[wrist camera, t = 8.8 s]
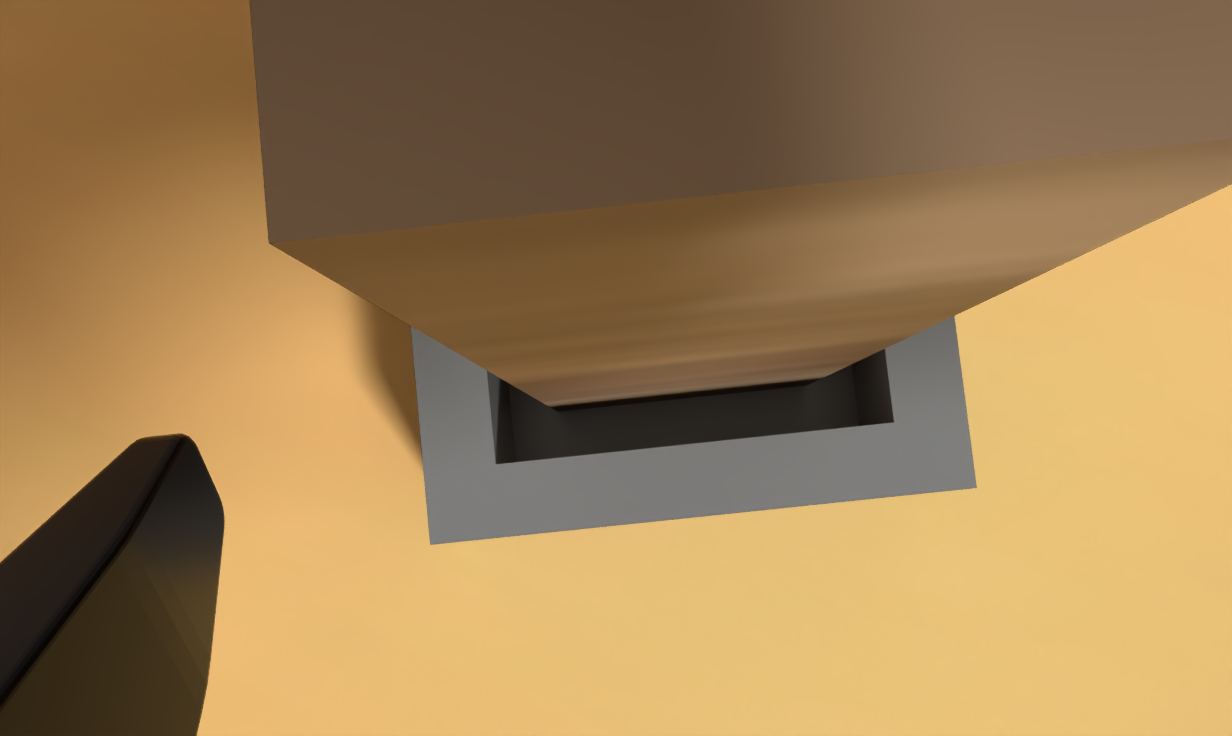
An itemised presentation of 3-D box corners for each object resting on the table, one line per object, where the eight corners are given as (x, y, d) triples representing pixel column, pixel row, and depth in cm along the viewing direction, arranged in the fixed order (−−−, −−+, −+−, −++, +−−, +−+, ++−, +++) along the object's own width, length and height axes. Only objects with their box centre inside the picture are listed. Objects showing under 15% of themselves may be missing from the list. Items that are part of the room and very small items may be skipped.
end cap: (922, 483, 18) (976, 487, 15) (465, 531, 19) (430, 544, 16) (865, 38, 19) (907, -42, 16) (423, 86, 19) (382, 17, 16)
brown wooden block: (806, 385, 18) (1354, 126, 4) (557, 411, 18) (267, 243, 4) (777, 141, 18) (1194, -863, 4) (533, 168, 18) (192, -741, 5)
